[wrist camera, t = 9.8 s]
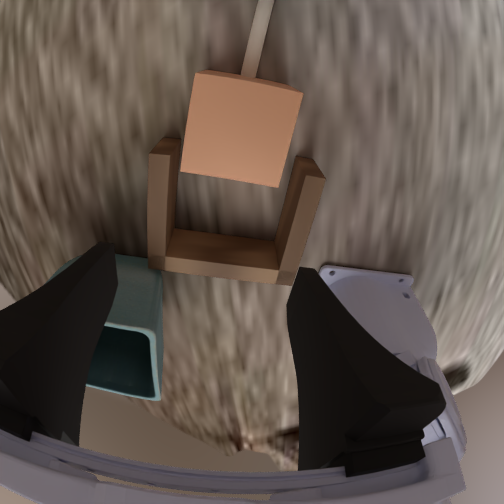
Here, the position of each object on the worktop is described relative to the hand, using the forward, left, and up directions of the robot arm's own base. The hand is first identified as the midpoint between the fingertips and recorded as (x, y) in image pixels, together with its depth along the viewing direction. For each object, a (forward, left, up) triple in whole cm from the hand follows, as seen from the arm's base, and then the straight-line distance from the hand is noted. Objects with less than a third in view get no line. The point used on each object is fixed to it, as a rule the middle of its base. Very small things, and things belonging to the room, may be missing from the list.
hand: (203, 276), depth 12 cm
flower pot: (+7, +10, -11) cm, 16 cm away
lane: (-1, +1, -10) cm, 11 cm away
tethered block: (-1, -9, -10) cm, 14 cm away
